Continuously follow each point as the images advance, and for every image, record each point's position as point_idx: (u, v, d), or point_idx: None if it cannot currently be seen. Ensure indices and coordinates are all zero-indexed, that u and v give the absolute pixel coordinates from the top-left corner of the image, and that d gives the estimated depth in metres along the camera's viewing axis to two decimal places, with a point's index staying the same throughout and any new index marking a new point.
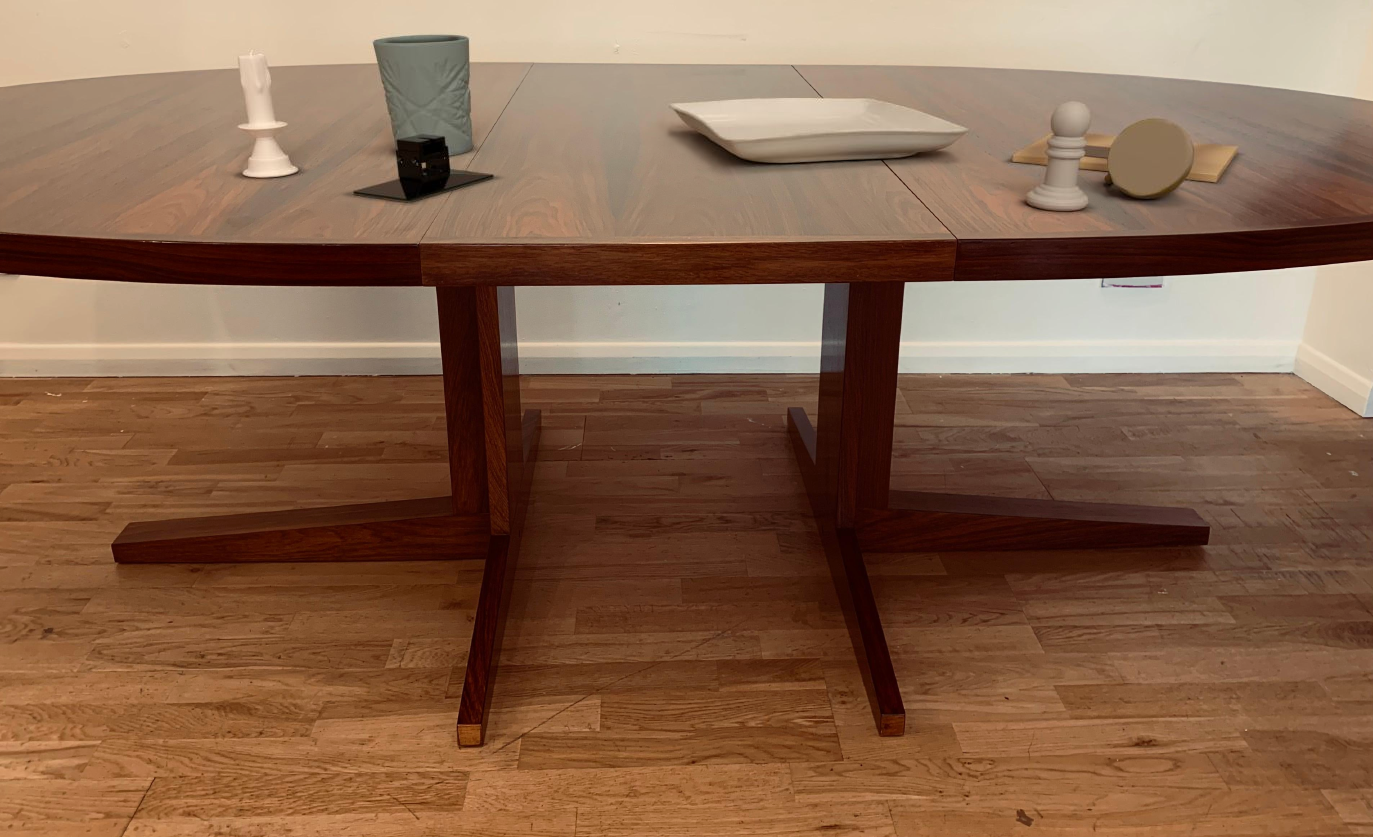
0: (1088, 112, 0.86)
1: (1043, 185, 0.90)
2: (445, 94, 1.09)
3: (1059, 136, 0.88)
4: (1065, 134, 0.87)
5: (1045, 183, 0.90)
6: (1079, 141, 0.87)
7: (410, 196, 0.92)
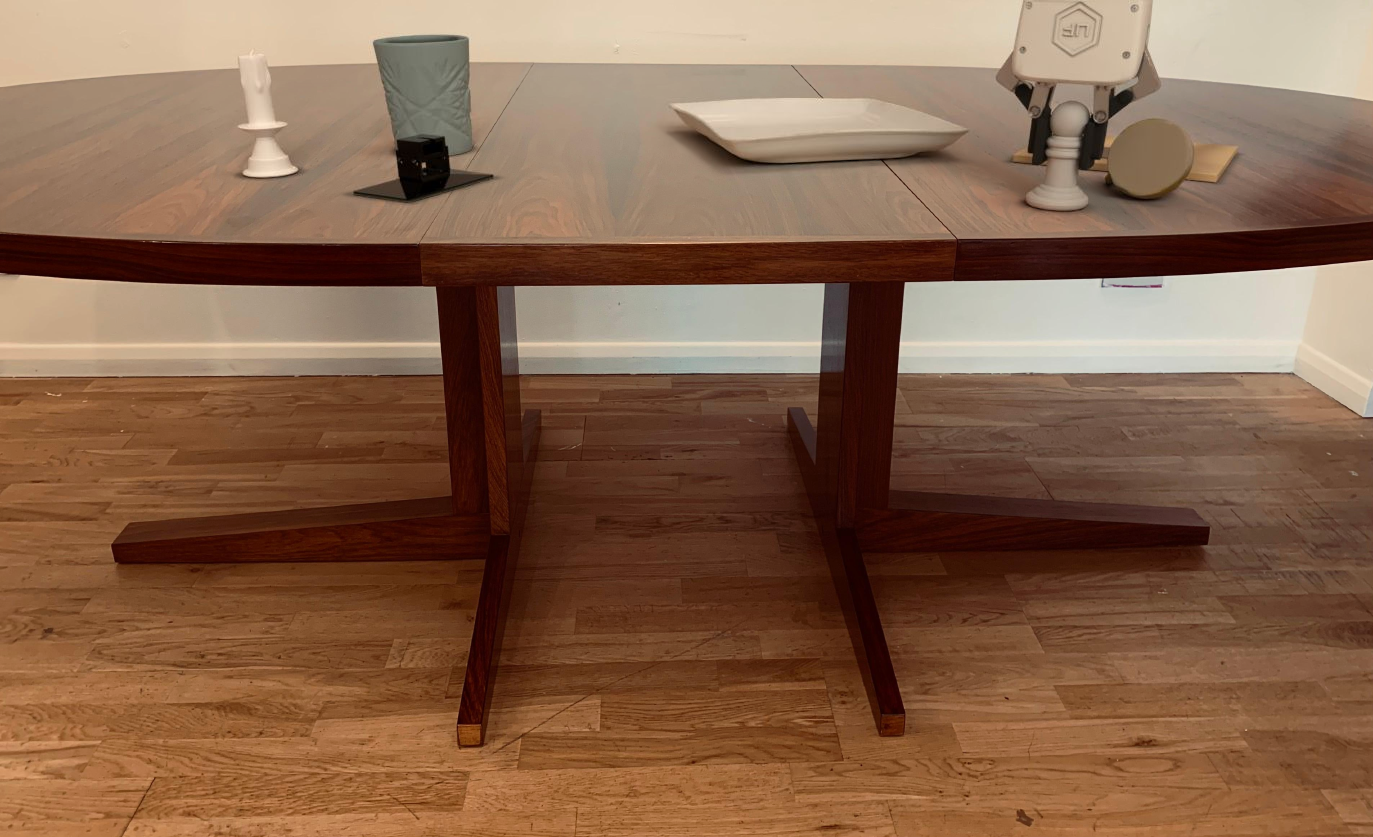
0: (1087, 112, 0.86)
1: (1043, 185, 0.90)
2: (445, 94, 1.09)
3: (1058, 136, 0.88)
4: (1064, 134, 0.87)
5: (1045, 183, 0.90)
6: (1078, 141, 0.87)
7: (410, 196, 0.92)
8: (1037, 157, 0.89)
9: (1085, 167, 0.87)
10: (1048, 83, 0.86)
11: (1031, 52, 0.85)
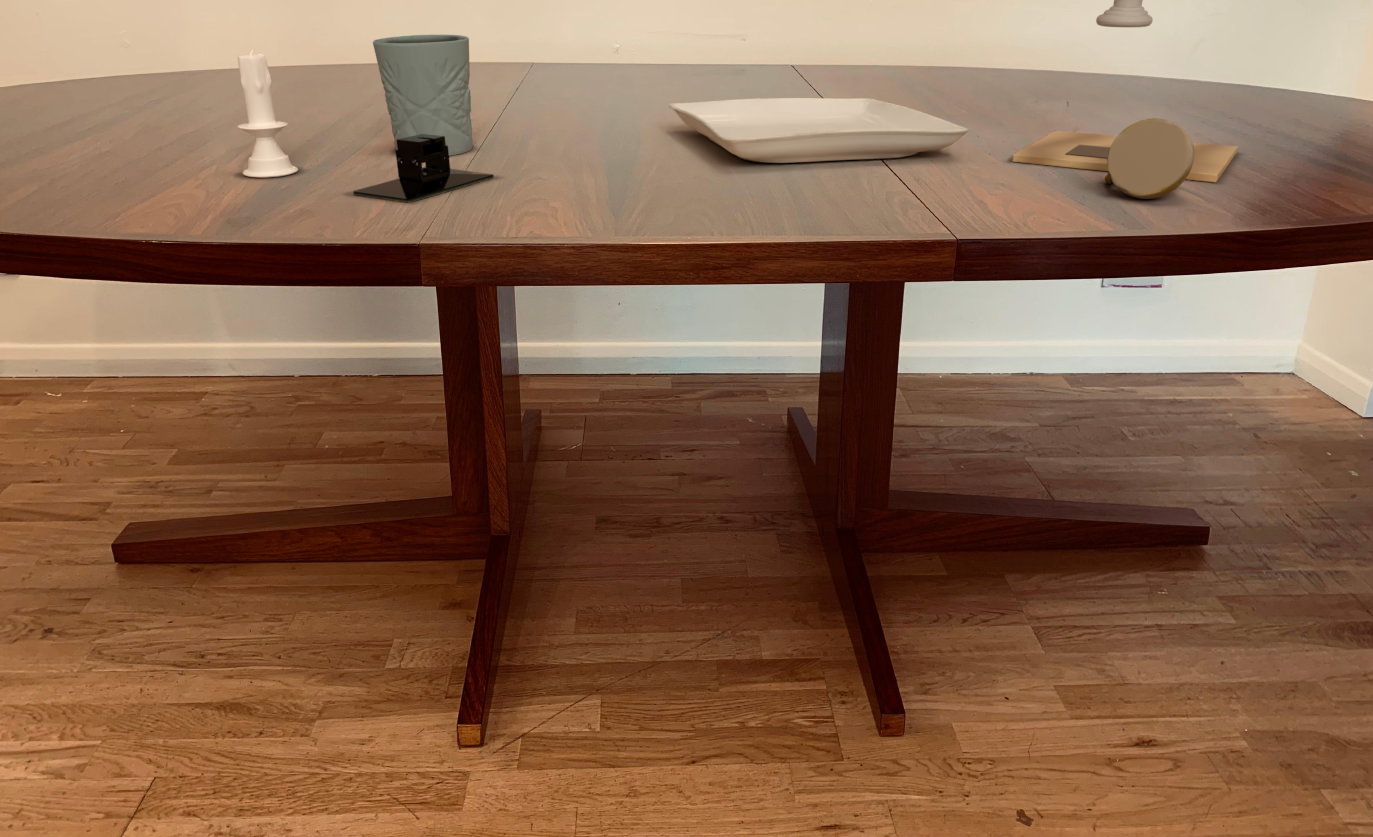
0: None
1: (1112, 7, 1.02)
2: (445, 94, 1.09)
3: None
4: None
5: (1114, 5, 1.02)
6: None
7: (410, 196, 0.92)
8: None
9: None
10: None
11: None
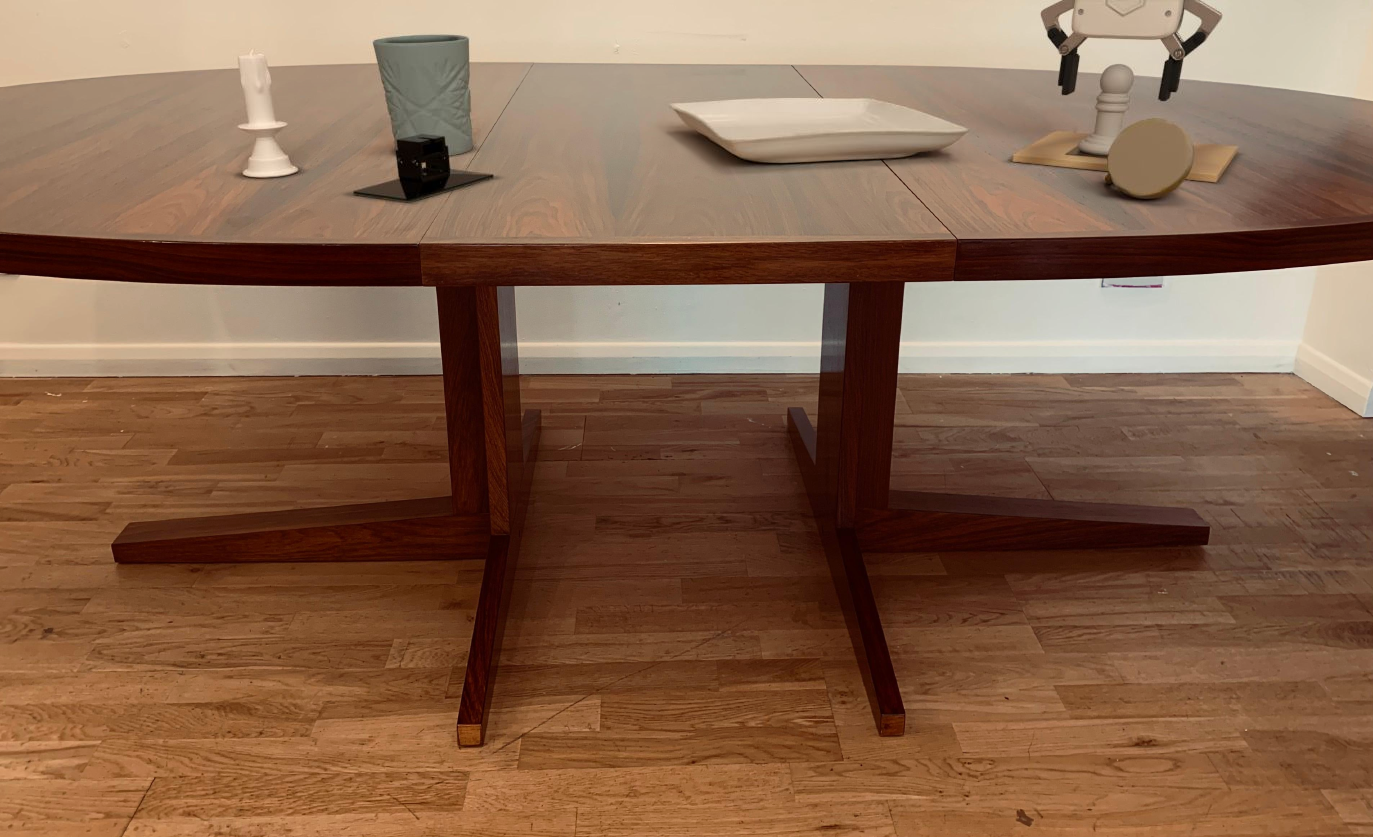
0: (1132, 73, 1.05)
1: (1093, 134, 1.08)
2: (445, 94, 1.09)
3: (1107, 93, 1.06)
4: (1112, 91, 1.05)
5: (1094, 133, 1.08)
6: (1124, 97, 1.06)
7: (410, 196, 0.92)
8: (1066, 88, 1.07)
9: (1164, 98, 1.03)
10: None
11: (1088, 13, 1.03)
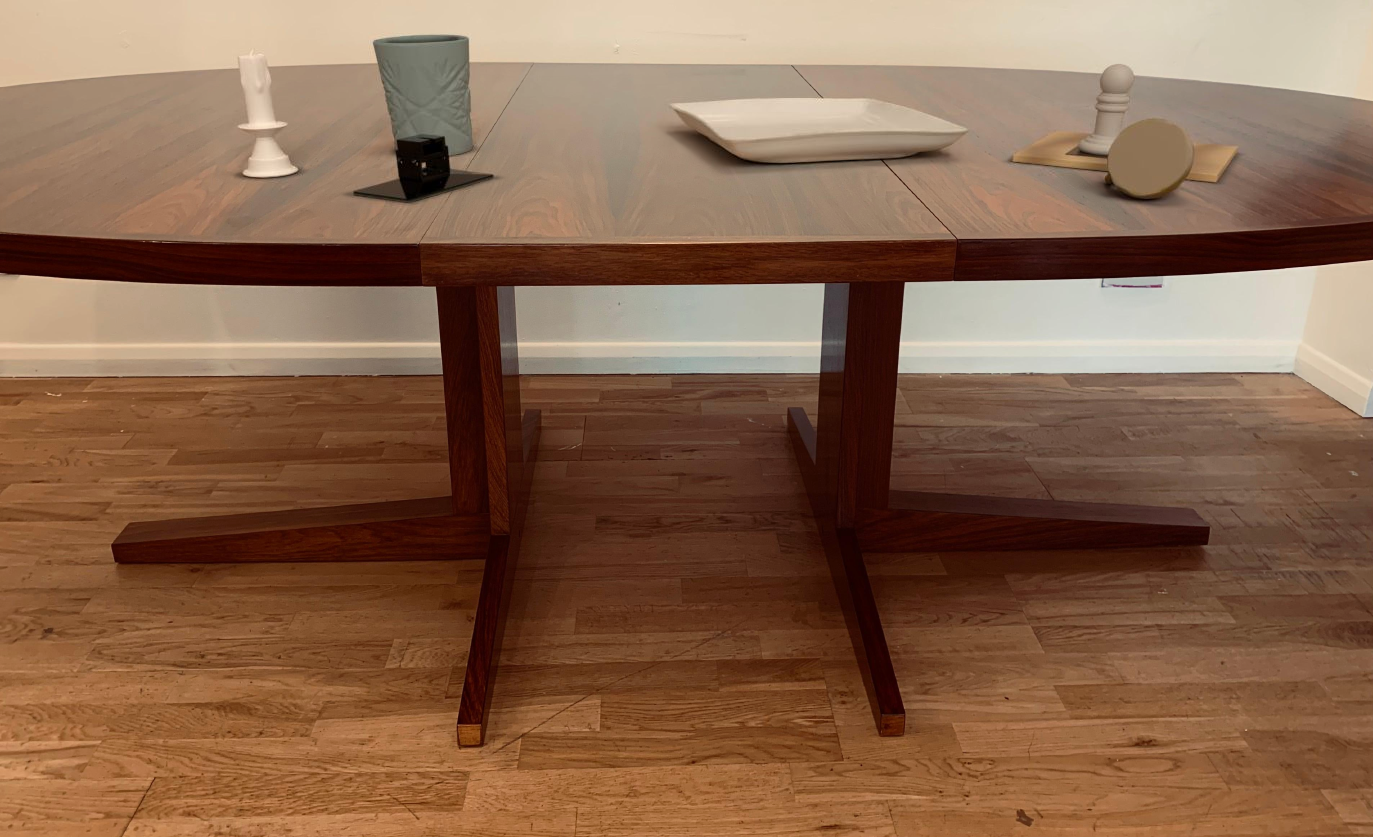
0: (1132, 73, 1.05)
1: (1093, 134, 1.08)
2: (445, 94, 1.09)
3: (1107, 93, 1.06)
4: (1112, 91, 1.05)
5: (1094, 133, 1.08)
6: (1124, 97, 1.06)
7: (410, 196, 0.92)
8: None
9: None
10: None
11: None
